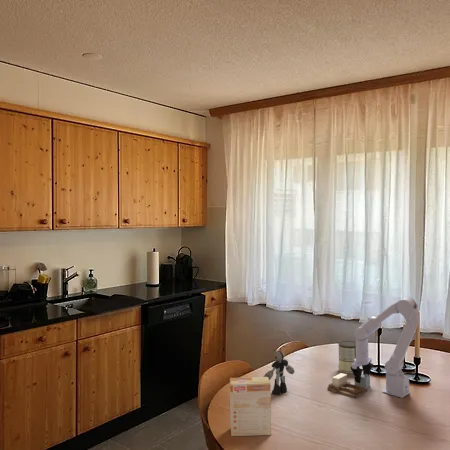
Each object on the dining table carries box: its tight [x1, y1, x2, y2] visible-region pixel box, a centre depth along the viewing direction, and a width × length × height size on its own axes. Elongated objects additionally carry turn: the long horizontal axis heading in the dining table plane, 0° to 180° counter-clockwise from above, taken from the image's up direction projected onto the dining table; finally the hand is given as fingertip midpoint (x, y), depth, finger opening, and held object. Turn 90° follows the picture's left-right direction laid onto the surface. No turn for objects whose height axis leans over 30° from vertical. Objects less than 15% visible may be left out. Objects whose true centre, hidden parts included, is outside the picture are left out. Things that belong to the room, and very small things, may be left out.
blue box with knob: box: [353, 373, 371, 389], centre depth 213 cm, size 6×4×6 cm, turn 43°
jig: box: [327, 380, 368, 399], centre depth 207 cm, size 14×11×2 cm
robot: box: [263, 347, 295, 396], centre depth 206 cm, size 20×5×20 cm, turn 128°
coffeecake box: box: [229, 376, 272, 437], centre depth 168 cm, size 15×7×20 cm, turn 92°
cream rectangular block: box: [331, 372, 348, 387], centre depth 211 cm, size 3×8×5 cm, turn 135°
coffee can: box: [337, 340, 356, 374], centre depth 235 cm, size 10×10×14 cm
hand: (362, 380), depth 213 cm, fingers open, 7 cm apart
